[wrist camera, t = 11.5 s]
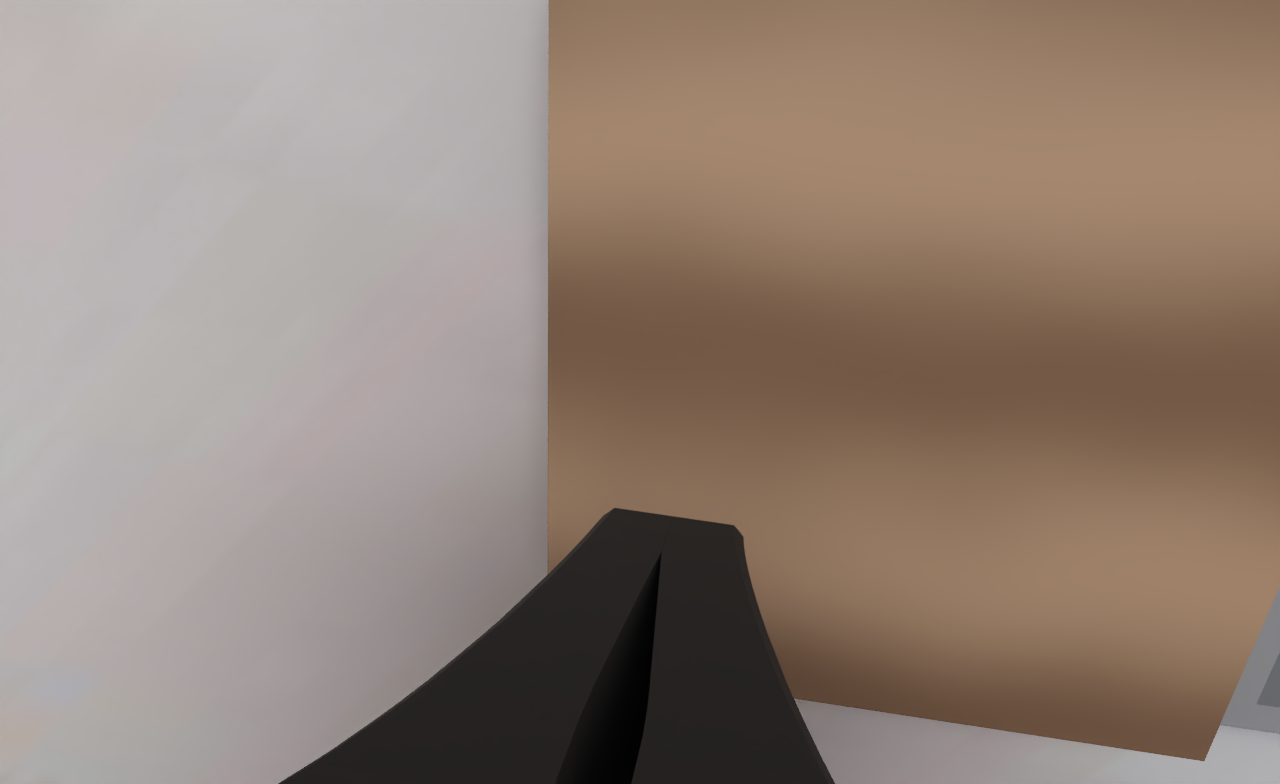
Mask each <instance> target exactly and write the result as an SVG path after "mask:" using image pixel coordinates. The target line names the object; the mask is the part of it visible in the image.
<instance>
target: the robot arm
mask: <svg viewBox="0 0 1280 784" xmlns="http://www.w3.org/2000/svg"><path fill="white" fill-rule="evenodd" d="M279 784H835V783H834V781H833V779H832V777H831V775H830V773H829V771H828V769H827V767H826V765H825V763H824V762H823V760H822V758H821V756H820V754H819V751H818V749H817V747H816V745H815V743H814V741H813V739H812V737H811V735H810V733H809V730H808V728H807V726H806V724H805V722H804V720H803V718H802V716H801V714H800V712H799V709H798V707H797V705H796V702H795V700H794V698H793V696H792V693H791V691H790V689H789V686H788V684H787V682H786V679H785V677H784V674H783V672H782V669H781V667H780V664H779V661H778V659H777V656H776V654H775V651H774V649H773V646H772V643H771V641H770V638H769V636H768V633H767V630H766V628H765V625H764V622H763V619H762V616H761V613H760V610H759V607H758V603H757V600H756V597H755V593H754V590H753V587H752V583H751V579H750V575H749V571H748V566H747V562H746V556H745V550H744V537H743V535H742V534H741V533H740V532H739V530H738V529H737V528H736V527H735V525H730V524H723V523H716V522H709V521H702V520H695V519H689V518H682V517H675V516H668V515H661V514H654V513H647V512H640V511H634V510H627V509H620V508H614V509H612V510H611V511H609V512H608V513H606V514H605V515H603V516H602V518H601V519H600V520H599V521H598V522H597V523H596V524H595V526H594V527H593V528H592V529H591V530H590V531H589V532H588V533H587V534H586V536H585V537H584V538H583V539H582V540H581V541H580V542H579V543H578V544H577V545H576V546H575V547H574V548H573V549H572V551H571V552H570V553H569V554H568V555H567V556H566V557H565V558H564V559H563V560H562V561H561V562H560V563H559V564H558V565H557V566H556V567H555V568H554V569H553V570H552V571H551V572H550V573H549V574H548V575H547V576H546V577H545V578H544V579H543V580H542V581H541V582H540V583H539V584H538V585H537V586H536V587H534V588H533V589H532V590H531V591H530V592H529V593H528V594H527V595H526V596H525V597H524V598H523V599H522V600H521V601H520V602H519V603H517V604H516V605H515V606H514V607H513V608H512V609H511V610H510V611H509V612H508V613H507V614H506V615H505V616H504V617H503V618H502V619H500V620H499V621H498V622H497V623H496V624H495V625H494V626H493V627H491V628H490V629H489V630H488V631H487V632H486V633H484V634H483V635H482V636H481V637H480V638H478V639H477V640H476V641H475V642H474V643H472V644H471V645H470V646H469V647H468V648H466V649H465V650H464V651H463V652H462V653H460V654H459V655H458V656H457V657H456V658H454V659H453V660H452V661H451V662H450V663H448V664H447V665H446V666H445V667H444V668H442V669H441V670H440V671H439V672H438V673H436V674H435V675H434V676H433V677H431V678H430V679H429V680H428V681H426V682H425V683H424V684H423V685H421V686H420V687H419V688H417V689H416V690H415V691H413V692H412V693H411V694H409V695H408V696H407V697H405V698H404V699H403V700H402V701H400V702H399V703H398V704H396V705H395V706H394V707H392V708H391V709H389V710H388V711H387V712H385V713H384V714H383V715H381V716H380V717H378V718H377V719H376V720H374V721H373V722H371V723H370V724H368V725H367V726H366V727H364V728H363V729H361V730H360V731H358V732H357V733H355V734H354V735H353V736H351V737H350V738H348V739H347V740H345V741H344V742H342V743H341V744H340V745H338V746H337V747H335V748H334V749H332V750H331V751H329V752H328V753H326V754H325V755H323V756H322V757H320V758H319V759H317V760H315V761H314V762H312V763H311V764H309V765H307V766H306V767H304V768H303V769H301V770H299V771H298V772H296V773H295V774H293V775H291V776H290V777H288V778H287V779H285V780H283V781H282V782H280V783H279Z"/></svg>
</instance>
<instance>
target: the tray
mask: <svg viewBox="0 0 1280 784" xmlns="http://www.w3.org/2000/svg"><path fill="white" fill-rule="evenodd" d="M1220 725H1224V726H1231V727H1238V728H1245V729H1252V730H1258V731H1265V732H1272V733H1279V734H1280V587H1279V590H1278V592H1277V594H1276V596H1275V599H1274V601H1273V603H1272V606H1271V608H1270V610H1269V613H1268V615H1267V617H1266V620H1265V622H1264V624H1263V626H1262V629H1261V631H1260V633H1259V636H1258V638H1257V640H1256V643H1255V645H1254V647H1253V650H1252V652H1251V654H1250V656H1249V659H1248V661H1247V663H1246V666H1245V668H1244V670H1243V673H1242V675H1241V677H1240V679H1239V682H1238V684H1237V686H1236V689H1235V691H1234V693H1233V696H1232V698H1231V700H1230V703H1229V705H1228V707H1227V709H1226V712H1225V714H1224V716H1223V719H1222V721H1221V723H1220Z"/></svg>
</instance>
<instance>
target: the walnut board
mask: <svg viewBox="0 0 1280 784" xmlns="http://www.w3.org/2000/svg"><path fill="white" fill-rule="evenodd" d="M614 508H620V509H627V510H634V511H640V512H647V513H654V514H661V515H668V516H675V517H682V518H689V519H695V520H702V521H709V522H716V523H723V524H730V525H735V527H736V528H737V529H738V530H739V532H740V533H741V534H742V535H743V537H744V550H745V556H746V562H747V566H748V571H749V575H750V579H751V583H752V587H753V590H754V593H755V597H756V600H757V603H758V607H759V610H760V613H761V616H762V619H763V622H764V625H765V628H766V630H767V633H768V636H769V638H770V641H771V643H772V646H773V649H774V651H775V654H776V656H777V659H778V661H779V664H780V667H781V669H782V672H783V674H784V677H785V679H786V682H787V684H788V686H789V689H790V691H791V693H792V696H793V698H795V699H802V700H808V701H815V702H821V703H828V704H834V705H841V706H847V707H854V708H860V709H867V710H874V711H880V712H887V713H893V714H900V715H906V716H913V717H919V718H926V719H932V720H939V721H945V722H952V723H958V724H965V725H972V726H978V727H985V728H991V729H998V730H1004V731H1011V732H1017V733H1024V734H1030V735H1037V736H1043V737H1050V738H1056V739H1063V740H1070V741H1076V742H1083V743H1089V744H1096V745H1102V746H1109V747H1115V748H1122V749H1128V750H1135V751H1141V752H1148V753H1154V754H1161V755H1168V756H1174V757H1181V758H1187V759H1194V760H1200V761H1204V760H1205V758H1206V756H1207V753H1208V751H1209V749H1210V746H1211V744H1212V742H1213V739H1214V737H1215V735H1216V733H1217V730H1218V728H1219V726H1220V723H1221V721H1222V719H1223V716H1224V714H1225V712H1226V709H1227V707H1228V705H1229V703H1230V700H1231V698H1232V696H1233V693H1234V691H1235V689H1236V686H1237V684H1238V682H1239V679H1240V677H1241V675H1242V673H1243V670H1244V668H1245V666H1246V663H1247V661H1248V659H1249V656H1250V654H1251V652H1252V650H1253V647H1254V645H1255V643H1256V640H1257V638H1258V636H1259V633H1260V631H1261V629H1262V626H1263V624H1264V622H1265V620H1266V617H1267V615H1268V613H1269V610H1270V608H1271V606H1272V603H1273V601H1274V599H1275V596H1276V594H1277V592H1278V590H1279V587H1280V0H549V235H548V574H549V573H550V572H551V571H552V570H553V569H554V568H555V567H556V566H557V565H558V564H559V563H560V562H561V561H562V560H563V559H564V558H565V557H566V556H567V555H568V554H569V553H570V552H571V551H572V549H573V548H574V547H575V546H576V545H577V544H578V543H579V542H580V541H581V540H582V539H583V538H584V537H585V536H586V534H587V533H588V532H589V531H590V530H591V529H592V528H593V527H594V526H595V524H596V523H597V522H598V521H599V520H600V519H601V518H602V516H603V515H605V514H606V513H608V512H609V511H611V510H612V509H614Z"/></svg>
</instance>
